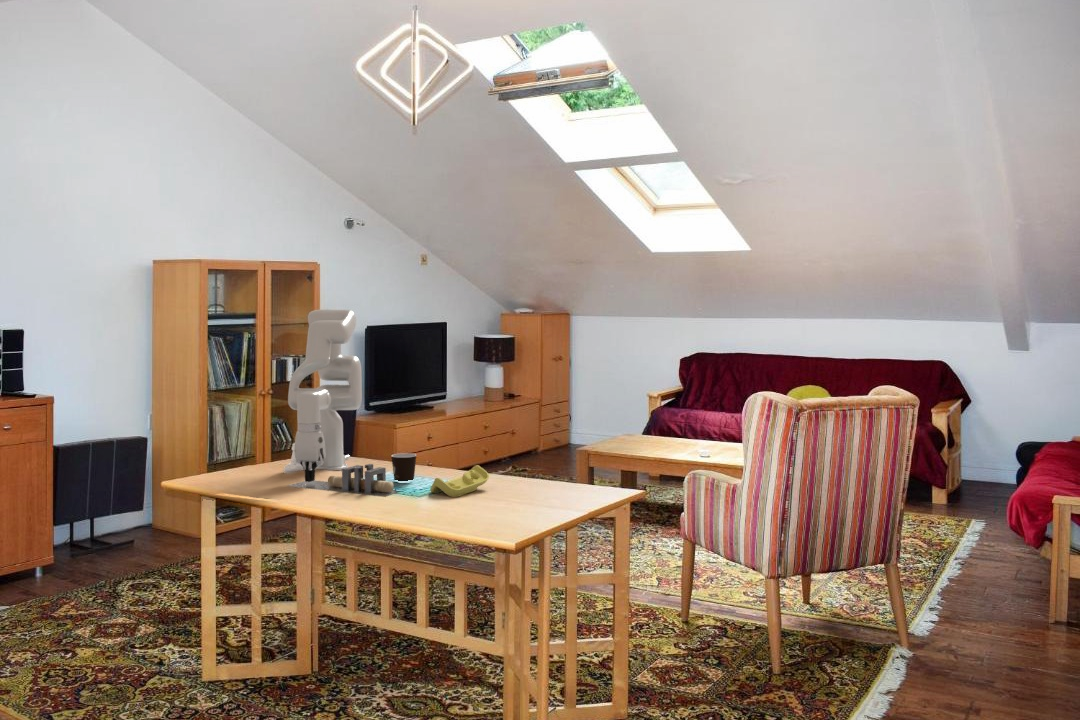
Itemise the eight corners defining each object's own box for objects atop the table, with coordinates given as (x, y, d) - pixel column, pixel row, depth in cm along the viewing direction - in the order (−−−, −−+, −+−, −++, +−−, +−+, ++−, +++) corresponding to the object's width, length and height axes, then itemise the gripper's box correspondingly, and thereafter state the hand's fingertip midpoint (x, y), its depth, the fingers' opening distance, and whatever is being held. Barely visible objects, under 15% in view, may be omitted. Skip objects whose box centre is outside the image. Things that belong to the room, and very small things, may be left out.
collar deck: (309, 482, 336) (308, 457, 335) (406, 492, 319) (405, 466, 318) (286, 488, 325) (285, 462, 324) (385, 499, 308) (385, 472, 307)
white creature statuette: (285, 469, 361) (284, 437, 360) (309, 468, 362) (308, 437, 362) (283, 473, 351) (282, 441, 351) (307, 473, 353) (307, 440, 352)
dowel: (327, 486, 323) (327, 476, 323) (334, 486, 326) (334, 475, 326) (387, 493, 312) (387, 482, 312) (393, 492, 316) (393, 481, 316)
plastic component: (454, 491, 310) (433, 474, 315) (448, 510, 312) (428, 493, 317) (494, 477, 325) (474, 462, 330) (488, 495, 328) (468, 479, 333)
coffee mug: (414, 486, 328) (414, 457, 328) (389, 486, 329) (389, 457, 328) (419, 480, 340) (419, 452, 339) (395, 479, 340) (395, 451, 339)
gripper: (333, 427, 327) (334, 480, 329) (298, 424, 334) (299, 477, 335) (319, 430, 320) (320, 485, 322) (284, 427, 327) (285, 481, 328)
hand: (309, 480), depth 328 cm, fingers closed
